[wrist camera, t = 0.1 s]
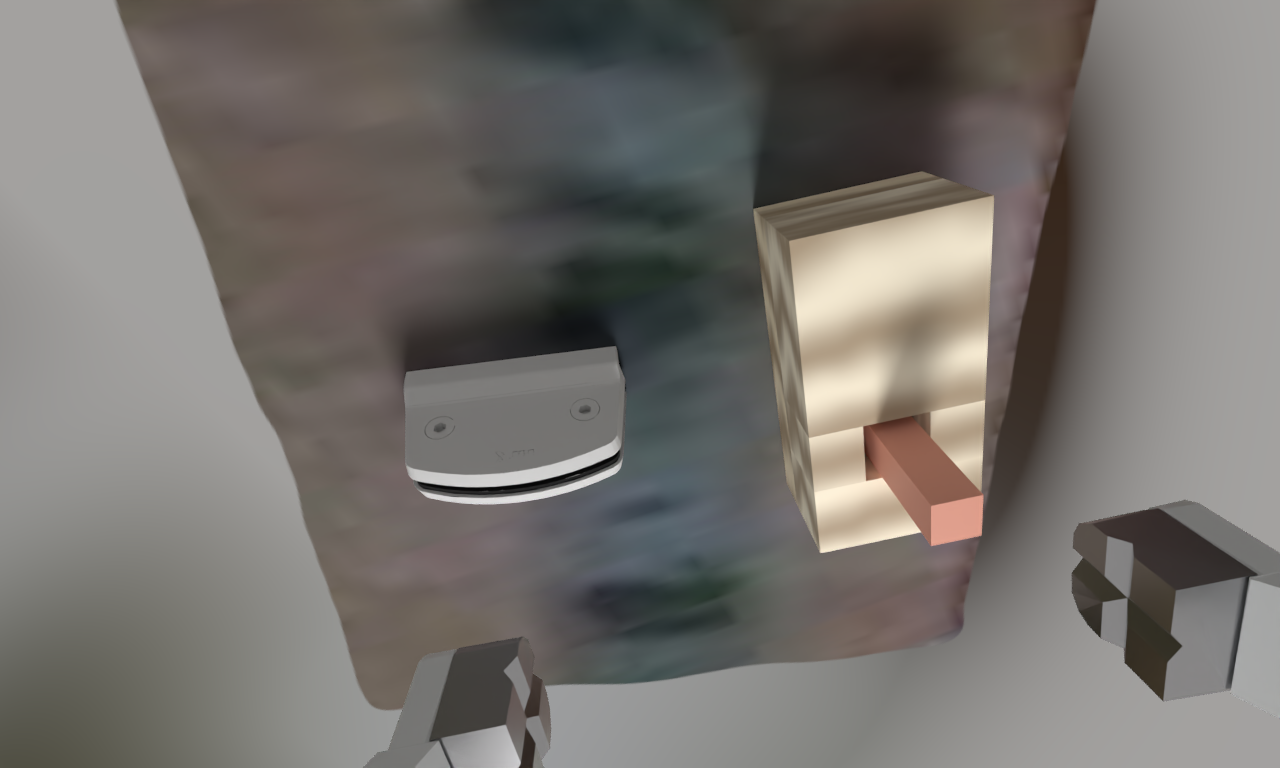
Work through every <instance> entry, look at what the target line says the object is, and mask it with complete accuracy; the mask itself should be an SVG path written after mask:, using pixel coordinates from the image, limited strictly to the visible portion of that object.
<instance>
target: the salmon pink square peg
mask: <svg viewBox="0 0 1280 768" xmlns="http://www.w3.org/2000/svg"><path fill="white" fill-rule="evenodd" d="M863 435H864V452H865V454H866V455H867V457H868V458H869V459H870V461H871V462H872V464H873V465H874V466H875V468H876V469H877V471H878V472H879V473H880V475H881V476H882V478H883V479H884V481H885V482H886V483H887V485H888V486H889V488H890V489H891V490H892V492H893V493H894V495H895V496H896V497H897V499H898V500H899V502H900V503H901V504H902V506H903V507H904V509H905V510H906V511H907V513H908V514H909V516H910V517H911V518H912V520H913V521H914V523H915V524H916V525H917V527H918V528H919V530H920V531H921V532H922V534H923V535H924V537H925V538H926V540H927V541H928V542H929V544H930V545H931V546H934V545H938V544H943V543H948V542H953V541H957V540H962V539H967V538H972V537H976V536H981V535H982V514H983V494H982V493H981V492H980V491H979V490H978V489H977V487H976V486H975V485H974V484H973V483H972V482H971V481H970V480H969V479H968V478H967V477H966V475H965V474H964V473H963V472H962V471H961V470H960V469H959V468H958V467H957V466H956V464H955V463H954V462H953V461H952V460H951V459H950V458H949V457H948V456H947V455H946V454H945V452H944V451H943V450H942V449H941V448H940V447H939V446H938V445H937V444H936V443H935V442H934V440H933V439H932V438H931V437H930V436H929V435H928V434H927V433H926V432H925V431H924V429H923V428H922V427H921V426H920V425H919V424H918V423H917V422H916V421H915V420H914V419H913V417H912V416H909V417H904V418H900V419H895V420H890V421H886V422H881V423H876V424H872V425H867V426H863Z"/></svg>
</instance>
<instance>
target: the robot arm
mask: <svg viewBox="0 0 1280 768" xmlns="http://www.w3.org/2000/svg"><path fill="white" fill-rule="evenodd" d="M1073 548H1074V549H1075V550H1076V551H1077V552H1078V553H1079V554H1080V555H1081V556H1082V560H1081V561H1080V563H1079V564H1078V565H1077V567H1076V568H1075V569H1074V570H1073V572H1072V594H1073V597H1074V600H1075V602H1076V605H1077V608H1078V611H1079V612H1080V614H1081V615H1082V617H1083V619H1084V620H1085V622H1086V623H1087V625H1088V626H1089V627H1090V628H1091V629H1092V630H1093V631H1094V632H1095V633H1096V634H1097V635H1098V636H1099V637H1100V638H1101V639H1103V640H1105V641H1108V642H1110V643H1113V644H1115V645H1117V646H1120V647H1122V648H1124V661H1125V664H1126V665H1127V666H1128V667H1129V668H1130V669H1132V671H1133V672H1134V673H1135V674H1136V675H1137V676H1138V677H1139V678H1140V679H1141V680H1142V681H1143V682H1144V683H1145V684H1146V685H1147V686H1148V687H1149V688H1150V689H1151V690H1152V691H1153V692H1154V693H1155V694H1156V695H1157V696H1158V697H1159V698H1160V699H1161V700H1162V701H1169V700H1175V699H1181V698H1187V697H1193V696H1199V695H1205V694H1211V693H1217V692H1222V691H1229V690H1231V692H1230V694H1232V695H1234V696H1236V697H1238V698H1240V699H1242V700H1244V701H1246V702H1248V703H1249V704H1252V705H1253V706H1255V707H1257V708H1259V709H1261V710H1263V711H1265V712H1267V713H1269V714H1271V715H1273V716H1275V717H1277V718H1279V719H1280V553H1279V552H1278V551H1276V550H1274V549H1273V548H1271V547H1269V546H1268V545H1266V544H1264V543H1263V542H1261V541H1260V540H1258V539H1256V538H1255V537H1253V536H1251V535H1250V534H1248V533H1247V532H1245V531H1243V530H1242V529H1240V528H1238V527H1237V526H1235V525H1234V524H1232V523H1230V522H1229V521H1227V520H1225V519H1224V518H1222V517H1220V516H1219V515H1217V514H1215V513H1214V512H1212V511H1210V510H1209V509H1208V508H1206V507H1204V506H1203V505H1201V504H1199V503H1196V502H1192V501H1188V500H1183V501H1178V502H1174V503H1169V504H1165V505H1160V506H1156V507H1152V508H1149V509H1148V510H1141V511H1137V512H1132V513H1127V514H1122V515H1117V516H1113V517H1108V518H1103V519H1098V520H1094V521H1089V522H1084V523H1079V525H1078V526H1077V528H1076V530H1075V532H1074V538H1073ZM533 666H534V654H533V651H532V649H531V646H530V643H529V641H528V639H526V638H525V637H518V638H513V639H507V640H501V641H496V642H490V643H485V644H479V645H473V646H468V647H462V648H459V649H454V650H449V651H443V652H438V653H432V654H427V655H425V656H424V657H423V658H422V659H421V660H420V662H419V663H418V666H417V669H416V672H415V675H414V678H413V681H412V683H411V686H410V689H409V692H408V695H407V698H406V700H405V703H404V706H403V709H402V712H401V715H400V718H399V720H398V723H397V726H396V729H395V732H394V735H393V737H392V740H391V743H390V746H389V749H388V750H387V751H383V752H378V753H377V754H376V755H375V756H374V757H373V758H372V759H371V760H370V761H369V762H368V763H367V764H366V765H365V766H364V767H363V768H544V766H543V763H542V758H543V757H544V756H545V754H546V753H547V752H548V750H549V749H550V741H551V718H550V707H549V702H548V697H547V692H546V689H545V686H544V683H543V680H542V679H541V678H539V677H538V676H536V675H535V674H533Z"/></svg>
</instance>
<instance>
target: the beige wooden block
mask: <svg viewBox="0 0 1280 768" xmlns="http://www.w3.org/2000/svg"><path fill="white" fill-rule="evenodd" d="M993 209H994V195H991V194H988V193H985V192H982V191H979V190H976V189H973V188H970V187H967V186H964V185H961V184H958V183H956V182H953V181H950V180H947V179H944V178H941V177H938V176H935V175H932V174H929V173H926V172H923V171H921V172H916V173H912V174H907V175H903V176H898V177H894V178H889V179H885V180H880V181H876V182H871V183H867V184H862V185H858V186H853V187H849V188H845V189H840V190H836V191H831V192H827V193H822V194H818V195H813V196H809V197H804V198H800V199H795V200H791V201H786V202H782V203H777V204H773V205H768V206H764V207H759V208H755V209H753V211H754V220H755V228H756V236H757V244H758V252H759V260H760V268H761V276H762V285H763V293H764V301H765V309H766V317H767V325H768V333H769V341H770V350H771V358H772V366H773V374H774V382H775V390H776V398H777V406H778V415H779V423H780V431H781V439H782V447H783V455H784V463H785V471H786V480H787V484H788V486H789V488H790V491H791V493H792V495H793V497H794V499H795V501H796V503H797V505H798V507H799V509H800V511H801V514H802V516H803V518H804V520H805V522H806V524H807V526H808V528H809V530H810V532H811V534H812V537H813V539H814V541H815V543H816V545H817V547H818V549H819V551H820V553H824V552H829V551H834V550H838V549H843V548H848V547H853V546H857V545H862V544H867V543H872V542H876V541H881V540H886V539H890V538H895V537H900V536H905V535H909V534H914V533H919V532H921V531H920V530H919V528H918V527H917V525H916V524H915V523H914V521H913V520H912V518H911V517H910V516H909V514H908V513H907V511H906V510H905V509H904V507H903V506H902V504H901V503H900V502H899V500H898V499H897V497H896V496H895V495H894V493H893V492H892V490H891V489H890V488H889V486H888V485H887V483H886V482H885V481H884V479H883V478H882V476H881V475H880V473H879V472H878V471H877V469H876V468H875V466H874V465H873V464H872V462H871V461H870V459H869V458H868V457H867V455H866V454H865V452H864V435H863V426H867V425H872V424H876V423H881V422H886V421H890V420H895V419H900V418H904V417H909V416H912V417H913V419H914V420H915V421H916V422H917V423H918V424H919V425H920V426H921V427H922V428H923V429H924V431H925V432H926V433H927V434H928V435H929V436H930V437H931V438H932V439H933V440H934V442H935V443H936V444H937V445H938V446H939V447H940V448H941V449H942V450H943V451H944V452H945V454H946V455H947V456H948V457H949V458H950V459H951V460H952V461H953V462H954V463H955V464H956V466H957V467H958V468H959V469H960V470H961V471H962V472H963V473H964V474H965V475H966V477H967V478H968V479H969V480H970V481H971V482H972V483H973V484H974V485H975V486H976V487H977V489H978V490H979V491H980V492H981V482H982V459H983V436H984V414H985V391H986V368H987V345H988V323H989V300H990V277H991V255H992V232H993Z"/></svg>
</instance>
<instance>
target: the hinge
mask: <svg viewBox="0 0 1280 768" xmlns="http://www.w3.org/2000/svg"><path fill="white" fill-rule="evenodd" d="M626 394H627V392H625V378H624V376H623V373H622V371H621V368H620V366H619V360H618V352H617V349H616V346H612V347H604V348H596V349H588V350H580V351H572V352H563V353H555V354H547V355H539V356H531V357H523V358H515V359H507V360H499V361H490V362H482V363H474V364H466V365H458V366H450V367H442V368H434V369H425V370H417V371H409V372H406V376H405V381H404V398H405V408H406V421H405V463H406V467H407V471H408V474H409V476H410V477H411V478H412V479H413V480H414V485H415V487H416V488H417V489H418V490H419V491H420V492H421V493H422V494H424V495H425V496H426V497H428V498H432V499H437V500H442V501H448V502H456V503H467V504H504V503H516V502H524V501H530V500H537V499H542V498H546V497H551V496H555V495H559V494H563V493H567V492H570V491H573V490H576V489H579V488H582V487H585V486H588V485H590V484H593V483H595V482H598V481H600V480H603V479H605V478H607V477H609V476H611V475H613V474H615V473H617V472H618V471H619V469H620V468H621V465H622V459H623V454H624V434H625V414H626Z"/></svg>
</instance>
